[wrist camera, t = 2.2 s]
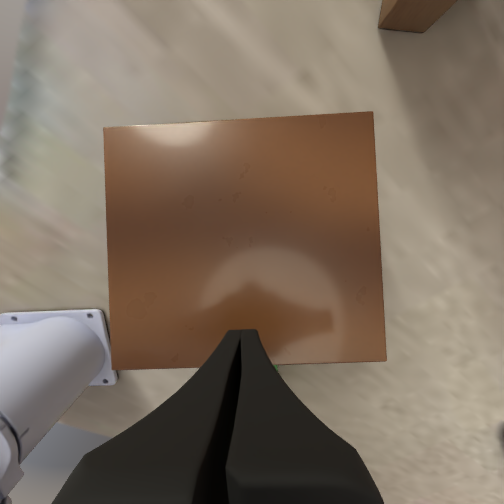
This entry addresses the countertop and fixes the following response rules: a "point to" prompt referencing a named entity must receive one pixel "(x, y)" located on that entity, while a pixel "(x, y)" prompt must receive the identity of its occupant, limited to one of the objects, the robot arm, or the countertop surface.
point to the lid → (244, 240)
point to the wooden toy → (412, 14)
